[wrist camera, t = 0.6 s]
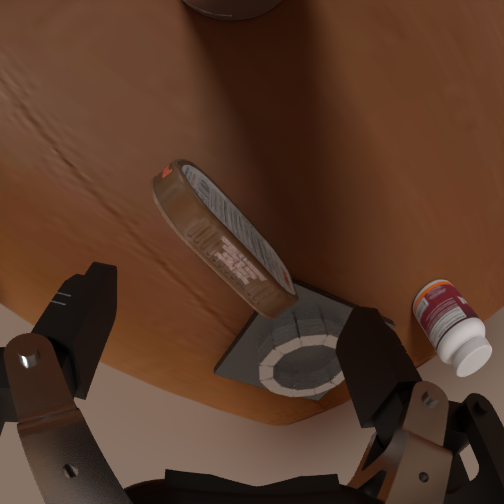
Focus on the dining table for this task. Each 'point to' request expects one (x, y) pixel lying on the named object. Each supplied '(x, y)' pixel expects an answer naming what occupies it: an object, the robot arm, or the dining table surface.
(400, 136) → the dining table surface
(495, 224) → the dining table surface
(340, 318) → the collar
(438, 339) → the pill bottle
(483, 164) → the dining table surface
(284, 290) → the tin
